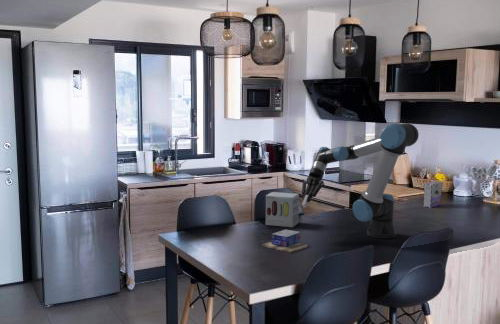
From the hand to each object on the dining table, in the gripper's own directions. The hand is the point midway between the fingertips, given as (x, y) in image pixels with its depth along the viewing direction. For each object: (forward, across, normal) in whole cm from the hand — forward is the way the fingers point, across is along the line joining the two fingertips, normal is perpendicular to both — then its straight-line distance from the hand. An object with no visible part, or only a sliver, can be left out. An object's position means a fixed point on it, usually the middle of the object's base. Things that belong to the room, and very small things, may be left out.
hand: (303, 206), depth 271 cm
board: (+25, +2, 0) cm, 25 cm away
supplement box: (-4, +26, -29) cm, 40 cm away
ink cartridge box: (+16, +2, -4) cm, 17 cm away
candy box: (-74, -38, -100) cm, 130 cm away
